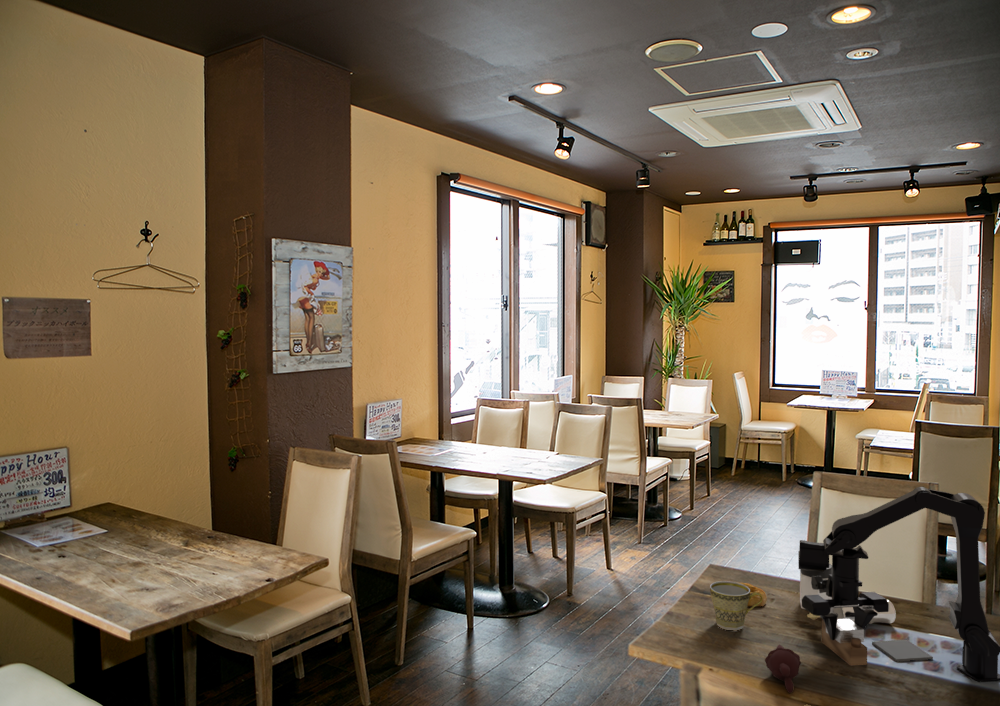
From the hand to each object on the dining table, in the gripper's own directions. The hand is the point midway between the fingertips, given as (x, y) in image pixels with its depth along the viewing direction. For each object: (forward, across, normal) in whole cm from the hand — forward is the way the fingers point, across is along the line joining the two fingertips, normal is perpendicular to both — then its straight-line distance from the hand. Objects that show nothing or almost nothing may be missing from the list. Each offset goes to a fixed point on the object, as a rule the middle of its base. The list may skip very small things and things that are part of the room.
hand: (844, 638), depth 167 cm
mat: (+4, -14, +1) cm, 14 cm away
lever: (0, 0, -10) cm, 10 cm away
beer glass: (+1, -21, -15) cm, 26 cm away
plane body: (+4, 0, 0) cm, 4 cm away
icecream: (+4, +20, +9) cm, 22 cm away
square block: (0, 0, 0) cm, 0 cm away
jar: (+4, -8, -26) cm, 28 cm away
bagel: (+4, +9, -33) cm, 34 cm away
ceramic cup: (+4, +19, -17) cm, 26 cm away
